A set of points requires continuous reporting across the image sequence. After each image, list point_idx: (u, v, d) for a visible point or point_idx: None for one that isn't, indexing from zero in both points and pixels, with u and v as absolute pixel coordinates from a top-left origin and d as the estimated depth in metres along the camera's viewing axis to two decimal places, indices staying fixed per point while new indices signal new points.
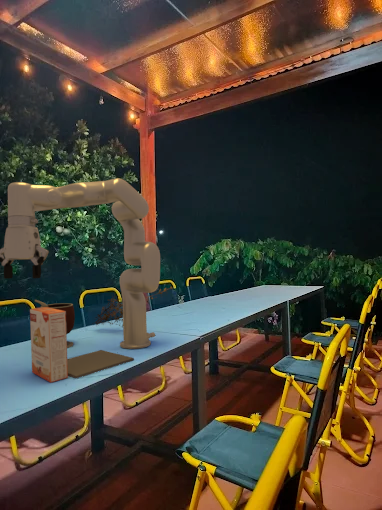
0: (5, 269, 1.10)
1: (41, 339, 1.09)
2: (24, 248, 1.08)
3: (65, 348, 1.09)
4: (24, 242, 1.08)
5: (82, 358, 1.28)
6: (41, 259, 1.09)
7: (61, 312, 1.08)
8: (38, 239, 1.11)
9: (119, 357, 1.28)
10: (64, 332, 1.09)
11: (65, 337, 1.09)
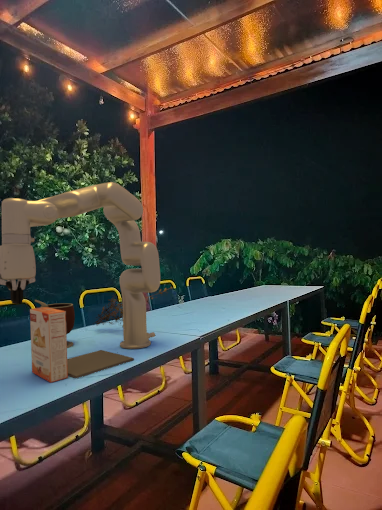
0: (18, 294, 1.04)
1: (41, 339, 1.09)
2: (28, 267, 1.06)
3: (65, 348, 1.09)
4: (28, 261, 1.06)
5: (82, 358, 1.28)
6: (27, 283, 1.07)
7: (61, 312, 1.08)
8: None
9: (119, 357, 1.28)
10: (64, 332, 1.09)
11: (65, 337, 1.09)
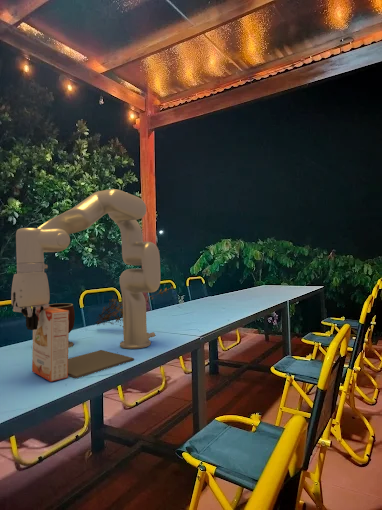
0: (33, 320, 1.07)
1: (43, 338, 1.09)
2: (42, 294, 1.09)
3: (66, 348, 1.09)
4: (43, 288, 1.09)
5: (82, 358, 1.28)
6: (41, 309, 1.10)
7: (64, 311, 1.09)
8: None
9: (119, 357, 1.28)
10: (66, 331, 1.09)
11: (67, 337, 1.10)
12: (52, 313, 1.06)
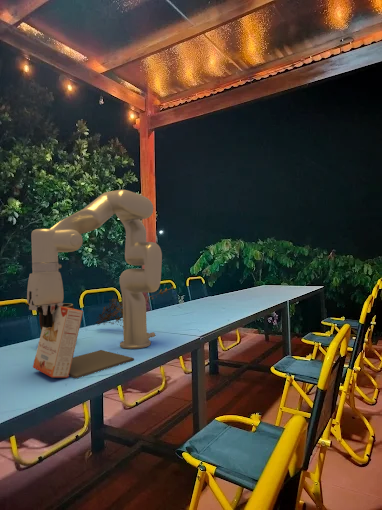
0: (48, 318, 1.11)
1: (53, 333, 1.11)
2: (57, 293, 1.12)
3: (73, 347, 1.11)
4: (57, 287, 1.12)
5: (82, 358, 1.28)
6: (56, 307, 1.14)
7: (79, 311, 1.13)
8: None
9: (119, 357, 1.28)
10: (77, 331, 1.12)
11: (76, 336, 1.12)
12: (68, 309, 1.10)
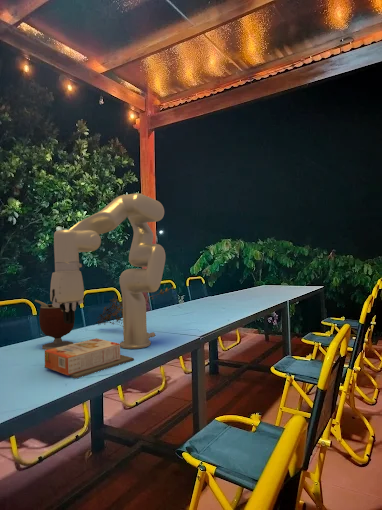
0: (70, 315, 1.17)
1: (92, 345, 1.22)
2: (78, 291, 1.18)
3: (93, 366, 1.16)
4: (78, 285, 1.18)
5: None
6: (77, 304, 1.20)
7: (119, 355, 1.25)
8: None
9: None
10: (105, 361, 1.20)
11: (101, 363, 1.19)
12: (119, 344, 1.25)
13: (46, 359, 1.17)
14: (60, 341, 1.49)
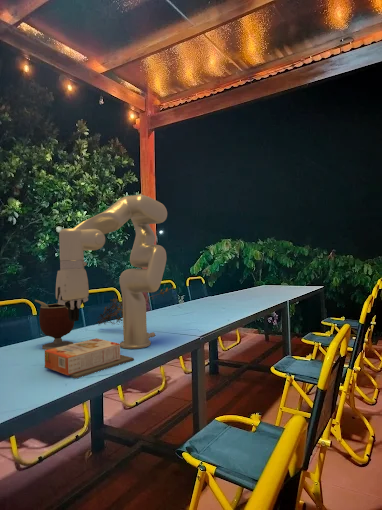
0: (75, 312, 1.18)
1: (92, 345, 1.22)
2: (83, 289, 1.20)
3: (93, 366, 1.16)
4: (83, 283, 1.20)
5: None
6: (82, 302, 1.21)
7: (119, 355, 1.25)
8: None
9: None
10: (105, 361, 1.20)
11: (101, 363, 1.19)
12: (119, 344, 1.25)
13: (46, 359, 1.17)
14: (60, 341, 1.49)
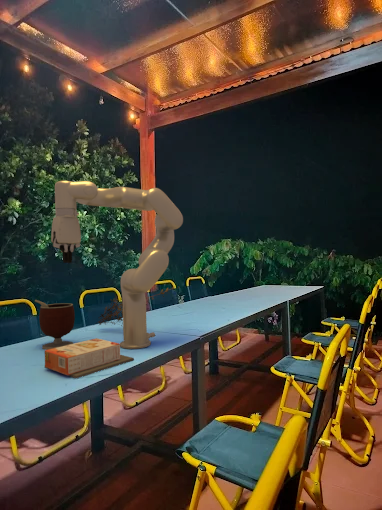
0: (68, 255, 1.34)
1: (92, 345, 1.22)
2: (75, 235, 1.36)
3: (93, 366, 1.16)
4: (76, 230, 1.36)
5: None
6: (74, 247, 1.37)
7: (119, 355, 1.25)
8: None
9: None
10: (105, 361, 1.20)
11: (101, 363, 1.19)
12: (119, 344, 1.25)
13: (46, 359, 1.17)
14: (60, 341, 1.49)
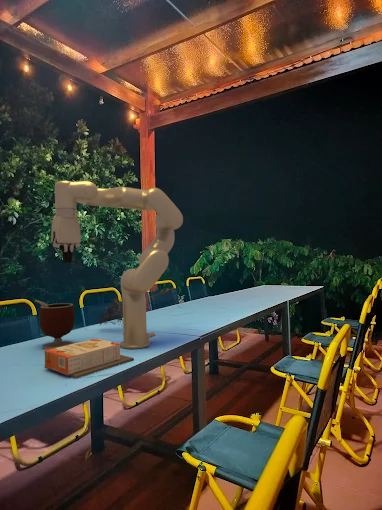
0: (68, 255, 1.34)
1: (92, 345, 1.22)
2: (75, 235, 1.36)
3: (93, 366, 1.16)
4: (75, 230, 1.36)
5: None
6: (74, 247, 1.37)
7: (119, 355, 1.25)
8: None
9: None
10: (105, 361, 1.20)
11: (101, 363, 1.19)
12: (119, 344, 1.25)
13: (46, 359, 1.17)
14: (60, 341, 1.49)
